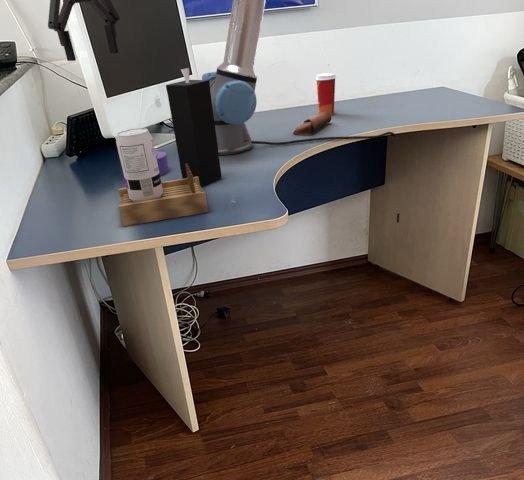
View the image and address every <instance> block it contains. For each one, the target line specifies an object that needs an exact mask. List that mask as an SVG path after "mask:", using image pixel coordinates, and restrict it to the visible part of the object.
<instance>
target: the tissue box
mask: <svg viewBox="0 0 524 480" xmlns="http://www.w3.org/2000/svg"><path fill="white" fill-rule="evenodd" d="M180 71H181V73H182V75H183V78H184V80H182V81H177V82H172V83H168V84H165V88H166V94H167V99H168V105H169V111H170V116H171V117H170V118H171V122H172V128H173V134H174V139H175V144H176V145H175V146H176V150H177V156H178V162H179V167H180V173H181V179H184V178H187V172H186V167H185V164H186V163H188V166H189V169H190V171H191V173H192V174H193V177H197V176H198V177H199V184H200V186H201V187H204V186H207V185H209V184H212V183H214V182H217V181H220V180H221V179H223V176H222V169H221V162H220V160H221V159H220V155H219V153H218V145H217V138H216V130H215V122H214V115H213V107H212V100H211V92H210V83H209V80H202V79H190V68H189V67H186V68H182V69H180Z"/></svg>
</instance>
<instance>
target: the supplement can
mask: <svg viewBox="0 0 524 480" xmlns="http://www.w3.org/2000/svg"><path fill="white" fill-rule="evenodd" d="M116 135H117V136H116V140H115V143H116V148H117V152H118V157H119V161H120V165H121V169H122V174H123V177H124V181H125V186H126V188H127V190H128V194H129V198H130V199H131V200H132V201H134V202H142V201H148V200H155V199H159V198H160V197H161V195H162V194H163V188H162V183H161V182H162V178H161V176H160V173H159V168H158V163H157V158H156V153H155V151H156V148H155V143H154V138H153V135H152V134H151V132H150V131H149V129H148V128H146V127H145V128H143V127H142V128H139V127H138V128H130V129H124V130H121V131H119V132H117V134H116Z"/></svg>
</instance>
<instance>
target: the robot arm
mask: <svg viewBox="0 0 524 480" xmlns="http://www.w3.org/2000/svg"><path fill="white" fill-rule="evenodd" d="M80 3H81V4H82V3H87V4H88V5H90V7H91V8H92V9H93V10H94V11H95V12H96V14H97V15H98V16H99V17H100V18H101V19H102V20H103V21H104V23H105V24H104V25H103V28H104V32H105V36H106V40H107V46H108V50H109V53H110V54H119V49H118V48H119V47H118V44H117V40H116V39H117V38H118V34H117V30H116V26H115V25H116V24H117V23H118V22H119V21H120V20H121V18H120V17H121V16H120V15H119V13H118V12H117V9H116V8H115V6H114V5H113V3H112V1H111V0H62V5H61V0H49V9H48V18H47V19H48V22H47V28H48V29H49V30H53V31H54V32H56V34H57V36H58V40H59V44H60V46H61V47H63V50H64V54H65V56H66V60H67V62H75V61H77V58H76V54H75V50H74V47H73V43H72V39H71V35H70V31H69V30H66V28H67V24H68V22H69V19H70V15H71V12H72V10H73V7H74V6H75V4H80ZM265 7H266V0H232V3H231V11H230V16H229V17H230V18H229V25H228V30H227V37H226V44H225V49H224V56H223V61H222V63H221V64H220V65H218V66H217V67H216V71H211V72H205V73H203V74H202V76H201V80H209V83H210V92H211V100H212V107H213V115H214V122H215V130H216V138H217V145H218V153H219V156H226V155H236V154H240V153H243V152H247V151H249V150H251V149H252V148H253V145H267V146H283V145H290V144H299V143H308V142H315V141H316V142H317V141H331V140H370V139H372V140H373V139H379V138H382V137H385V136H388V135H390V136H393V137H398V135H397V134H396V133H395V132H393V131H386V132H383V133H380V134H377V135H364V136H363V135H356V136H355V135H351V136H350V135H349V136H324V137H313V138H312V137H311V138H304V139H296V140H289V141H278V142H277V141H261V140H260V141H259V140H252V137H251V135H250V134H249V130H248V128H247V126H246V124H245V123H246V122H248V121H249V120H250V119H251V118H252V117H253V115H254V113H255V112H256V108H257V102H258V101H257V100H258V99H257V94H256V87H257V86H256V85H257V80H258V75H257V73H256V72H255V69H254V66H255V61H256V58H257V57H256V56H257V50H258V45H259V40H260V34H261V28H262V23H263V18H264V12H265ZM60 8H61V9H60ZM396 223H400V213H396Z"/></svg>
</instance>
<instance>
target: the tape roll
mask: <svg viewBox="0 0 524 480" xmlns="http://www.w3.org/2000/svg"><path fill="white" fill-rule="evenodd" d="M155 153H156V158H157V163H158V168H159V173H160V177H161V176H164V175H166V174H167V173H169V172H170V170H169V163H168V158H167V152H165V151H161V150H155Z"/></svg>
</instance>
